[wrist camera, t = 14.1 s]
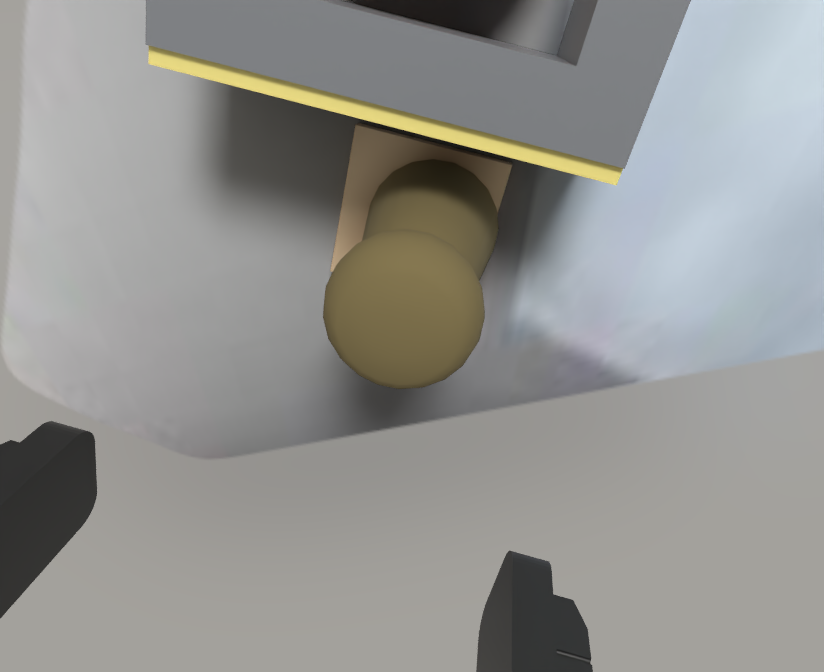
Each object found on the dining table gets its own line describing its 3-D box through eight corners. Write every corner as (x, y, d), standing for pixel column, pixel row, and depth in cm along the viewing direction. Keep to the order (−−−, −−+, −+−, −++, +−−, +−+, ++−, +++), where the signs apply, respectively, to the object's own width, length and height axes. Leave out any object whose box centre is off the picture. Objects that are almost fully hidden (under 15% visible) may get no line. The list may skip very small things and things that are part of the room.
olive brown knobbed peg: (494, 290, 29) (491, 425, 19) (370, 284, 29) (305, 411, 20) (503, 160, 26) (505, 242, 16) (365, 157, 27) (287, 233, 17)
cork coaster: (511, 162, 26) (512, 165, 26) (469, 302, 30) (469, 307, 29) (358, 122, 27) (355, 124, 26) (333, 266, 30) (330, 270, 29)
